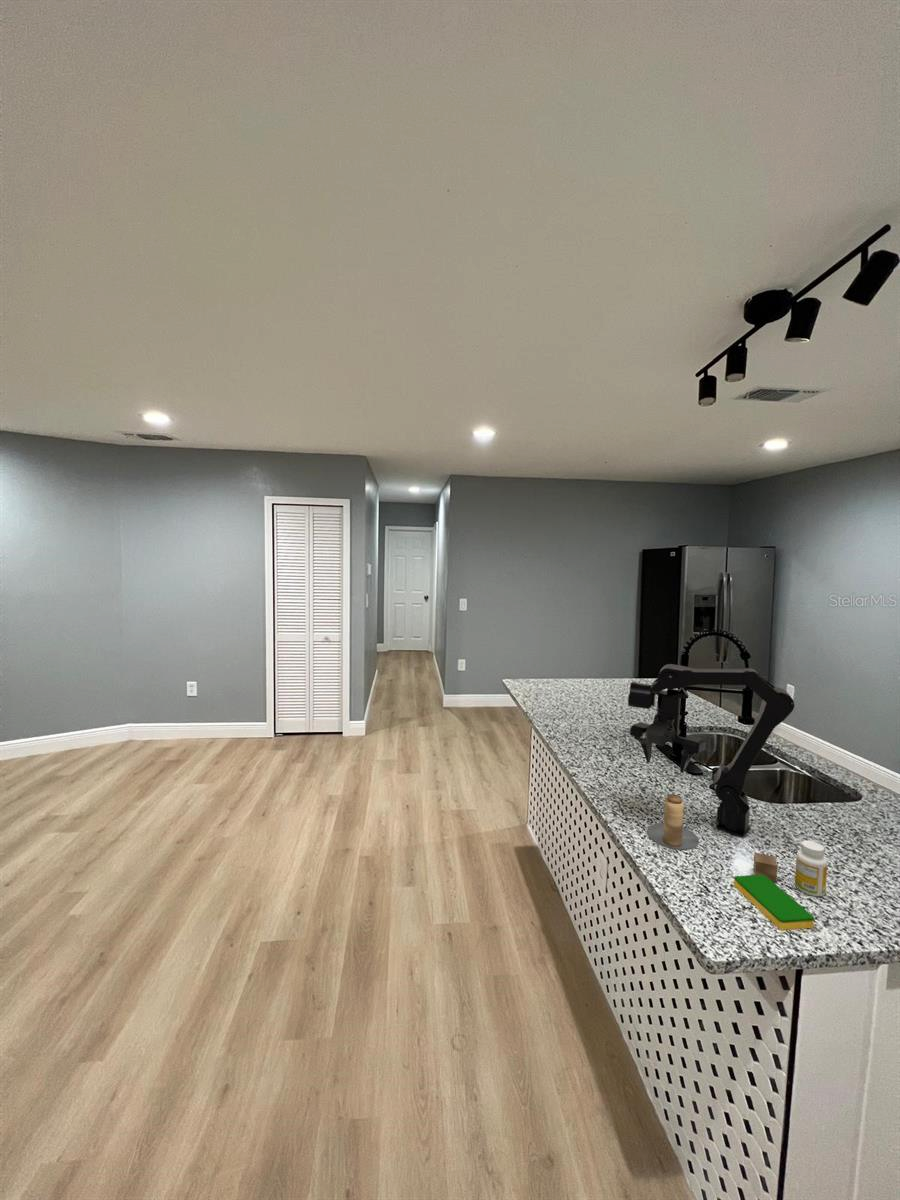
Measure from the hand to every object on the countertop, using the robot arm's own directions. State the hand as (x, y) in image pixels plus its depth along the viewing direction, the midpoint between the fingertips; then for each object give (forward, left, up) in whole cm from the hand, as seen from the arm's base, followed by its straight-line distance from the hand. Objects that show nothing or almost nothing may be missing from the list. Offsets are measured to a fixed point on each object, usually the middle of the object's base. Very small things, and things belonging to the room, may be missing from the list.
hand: (664, 767), depth 142 cm
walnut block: (-28, +11, -13) cm, 33 cm away
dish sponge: (-32, +21, -14) cm, 41 cm away
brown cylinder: (-8, +13, -13) cm, 20 cm away
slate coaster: (-7, +10, -13) cm, 18 cm away
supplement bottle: (-36, +9, -13) cm, 39 cm away
